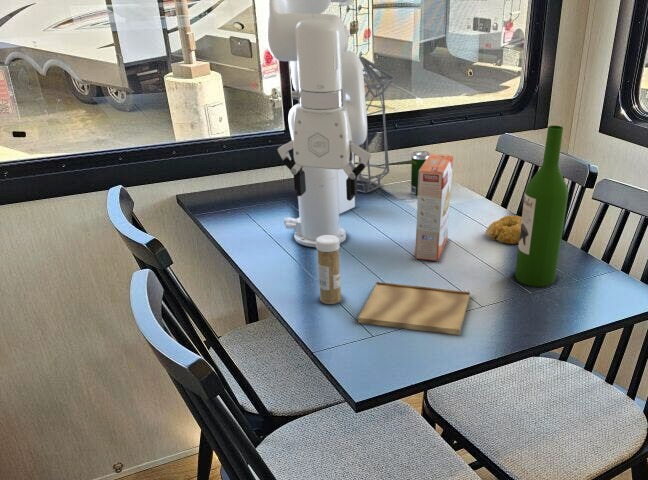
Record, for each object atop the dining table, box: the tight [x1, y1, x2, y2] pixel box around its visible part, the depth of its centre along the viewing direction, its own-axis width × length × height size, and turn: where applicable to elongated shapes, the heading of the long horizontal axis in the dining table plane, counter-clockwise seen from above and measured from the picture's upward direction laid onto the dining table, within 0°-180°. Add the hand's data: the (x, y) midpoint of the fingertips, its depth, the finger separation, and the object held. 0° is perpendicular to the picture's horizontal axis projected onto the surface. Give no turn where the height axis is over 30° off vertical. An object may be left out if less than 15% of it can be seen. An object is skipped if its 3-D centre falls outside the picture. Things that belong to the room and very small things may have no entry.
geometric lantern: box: [354, 56, 397, 194], centre depth 191 cm, size 16×16×35 cm
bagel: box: [485, 214, 522, 245], centre depth 170 cm, size 10×11×5 cm
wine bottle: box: [514, 125, 569, 288], centre depth 143 cm, size 9×9×32 cm
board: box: [357, 281, 471, 336], centre depth 138 cm, size 20×16×2 cm
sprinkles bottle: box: [315, 235, 343, 305], centre depth 138 cm, size 5×5×13 cm
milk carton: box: [337, 153, 356, 215], centre depth 180 cm, size 7×7×19 cm
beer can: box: [410, 150, 431, 199], centre depth 192 cm, size 5×5×12 cm
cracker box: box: [414, 153, 454, 262], centre depth 158 cm, size 14×6×21 cm, turn 168°
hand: (326, 196), depth 129 cm, fingers open, 9 cm apart
